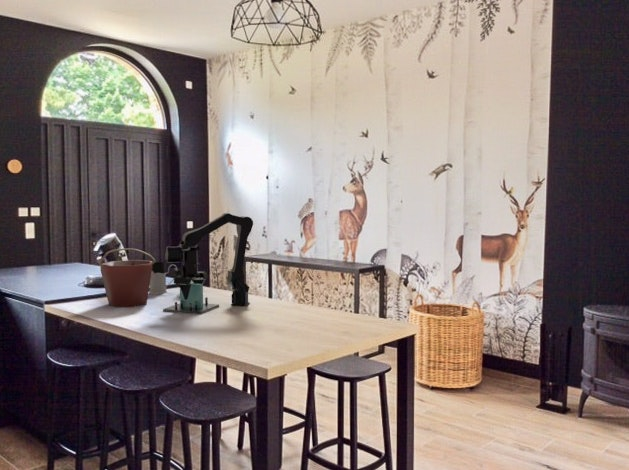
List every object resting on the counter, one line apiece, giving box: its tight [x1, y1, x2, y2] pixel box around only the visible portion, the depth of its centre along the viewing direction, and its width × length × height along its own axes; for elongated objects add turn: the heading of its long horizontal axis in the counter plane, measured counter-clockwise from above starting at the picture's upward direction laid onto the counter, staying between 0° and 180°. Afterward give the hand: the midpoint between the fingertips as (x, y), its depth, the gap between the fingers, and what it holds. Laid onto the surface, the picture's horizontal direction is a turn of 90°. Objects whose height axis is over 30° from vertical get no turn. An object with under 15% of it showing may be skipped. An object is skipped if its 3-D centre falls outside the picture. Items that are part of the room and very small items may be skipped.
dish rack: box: [162, 296, 220, 315], centre depth 249 cm, size 18×16×4 cm
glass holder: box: [148, 261, 178, 295], centre depth 291 cm, size 9×14×15 cm, turn 115°
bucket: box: [96, 247, 156, 308], centre depth 262 cm, size 24×22×25 cm
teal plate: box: [179, 283, 204, 308], centre depth 249 cm, size 10×2×10 cm, turn 72°
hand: (191, 297), depth 249 cm, fingers open, 9 cm apart
